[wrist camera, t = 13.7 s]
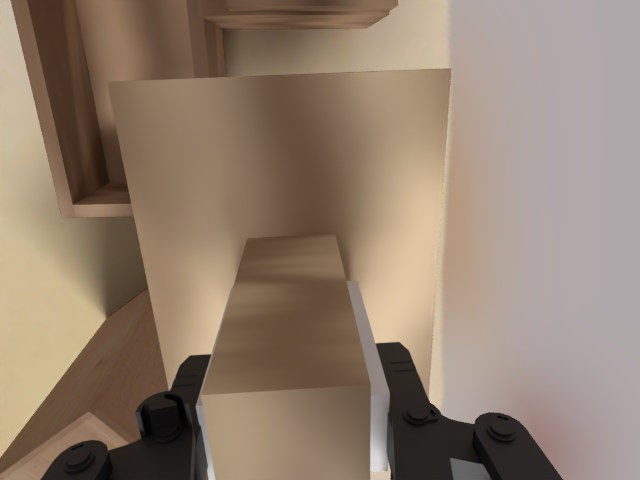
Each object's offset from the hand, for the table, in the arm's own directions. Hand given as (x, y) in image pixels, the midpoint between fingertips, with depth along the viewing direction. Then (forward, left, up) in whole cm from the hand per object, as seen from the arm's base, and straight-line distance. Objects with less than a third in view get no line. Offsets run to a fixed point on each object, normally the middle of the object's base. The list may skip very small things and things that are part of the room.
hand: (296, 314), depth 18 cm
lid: (0, 0, -2) cm, 2 cm away
